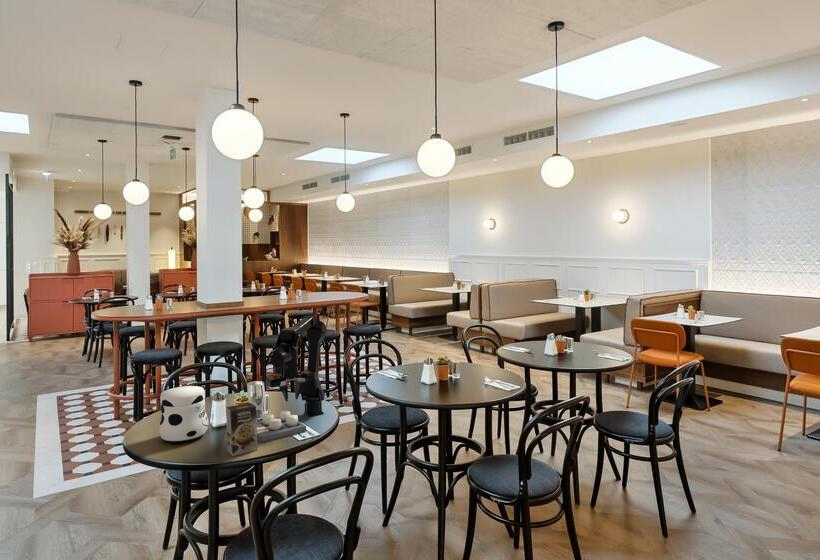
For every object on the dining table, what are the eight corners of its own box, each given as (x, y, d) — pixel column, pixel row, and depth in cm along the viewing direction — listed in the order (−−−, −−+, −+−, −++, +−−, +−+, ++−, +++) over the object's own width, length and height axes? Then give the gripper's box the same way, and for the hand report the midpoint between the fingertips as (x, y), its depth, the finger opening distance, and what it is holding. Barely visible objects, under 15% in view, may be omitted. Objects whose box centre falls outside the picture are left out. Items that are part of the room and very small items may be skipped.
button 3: (287, 416, 212) (287, 409, 212) (292, 419, 208) (292, 412, 208) (277, 419, 209) (277, 411, 209) (282, 422, 206) (281, 414, 205)
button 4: (295, 421, 206) (294, 414, 206) (299, 424, 203) (299, 416, 203) (284, 423, 204) (284, 416, 203) (289, 426, 200) (289, 419, 200)
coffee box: (232, 456, 179) (230, 411, 177) (226, 451, 184) (225, 406, 183) (258, 450, 184) (256, 406, 183) (252, 444, 189) (250, 401, 188)
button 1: (271, 420, 208) (271, 413, 207) (275, 423, 204) (275, 416, 204) (261, 423, 205) (260, 415, 205) (265, 426, 201) (264, 418, 201)
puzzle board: (288, 420, 215) (288, 413, 215) (306, 431, 202) (306, 424, 201) (245, 430, 204) (245, 423, 204) (261, 442, 191) (261, 435, 190)
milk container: (218, 434, 200) (216, 389, 198) (176, 449, 186) (173, 401, 184) (192, 426, 210) (189, 382, 208) (150, 440, 195) (147, 393, 194)
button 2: (278, 425, 202) (278, 417, 202) (283, 428, 199) (282, 420, 198) (267, 427, 199) (267, 420, 199) (272, 431, 196) (271, 423, 196)
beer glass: (268, 415, 222) (266, 380, 221) (261, 420, 215) (260, 385, 214) (252, 414, 223) (251, 380, 221) (245, 420, 216) (244, 385, 215)
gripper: (303, 354, 213) (304, 391, 215) (259, 361, 202) (260, 400, 203) (315, 358, 205) (316, 397, 206) (270, 366, 193) (271, 407, 194)
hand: (291, 400), depth 203 cm, fingers open, 4 cm apart
